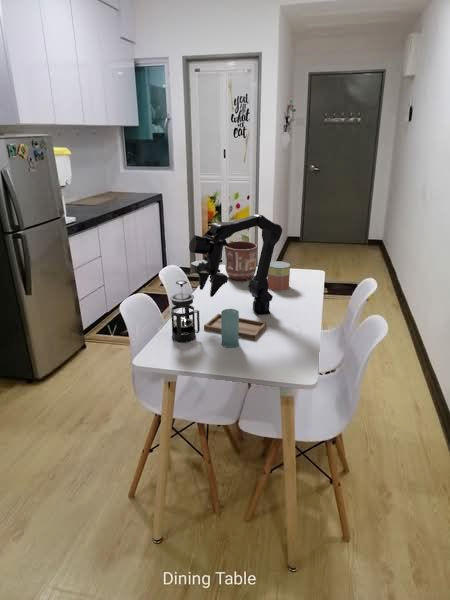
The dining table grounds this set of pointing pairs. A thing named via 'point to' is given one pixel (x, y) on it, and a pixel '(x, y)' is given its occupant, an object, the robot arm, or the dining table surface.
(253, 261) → the pottery
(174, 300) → the french press
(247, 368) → the dining table surface
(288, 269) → the canned food
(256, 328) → the tray
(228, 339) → the tumbler
